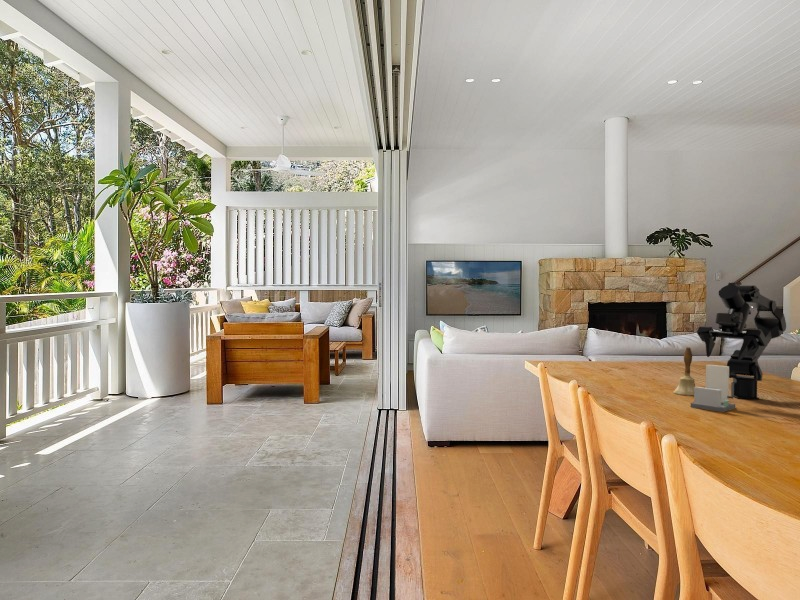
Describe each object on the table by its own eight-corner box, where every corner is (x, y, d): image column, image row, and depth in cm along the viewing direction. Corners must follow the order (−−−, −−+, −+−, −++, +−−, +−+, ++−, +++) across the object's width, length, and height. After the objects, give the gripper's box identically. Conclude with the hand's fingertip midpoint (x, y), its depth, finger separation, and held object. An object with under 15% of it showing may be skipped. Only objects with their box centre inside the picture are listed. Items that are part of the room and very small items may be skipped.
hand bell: (694, 391, 195) (694, 346, 195) (704, 396, 187) (705, 349, 187) (669, 391, 196) (670, 346, 196) (678, 395, 188) (679, 348, 188)
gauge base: (703, 403, 175) (704, 383, 175) (735, 407, 168) (735, 387, 168) (690, 407, 169) (690, 386, 169) (722, 412, 162) (723, 390, 162)
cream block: (702, 398, 174) (703, 363, 174) (733, 403, 168) (734, 367, 167) (700, 399, 173) (701, 364, 173) (731, 403, 167) (732, 367, 166)
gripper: (697, 302, 184) (683, 341, 178) (761, 303, 169) (747, 345, 163) (709, 321, 189) (696, 360, 184) (772, 324, 174) (759, 366, 169)
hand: (722, 357), depth 175 cm, fingers open, 9 cm apart
